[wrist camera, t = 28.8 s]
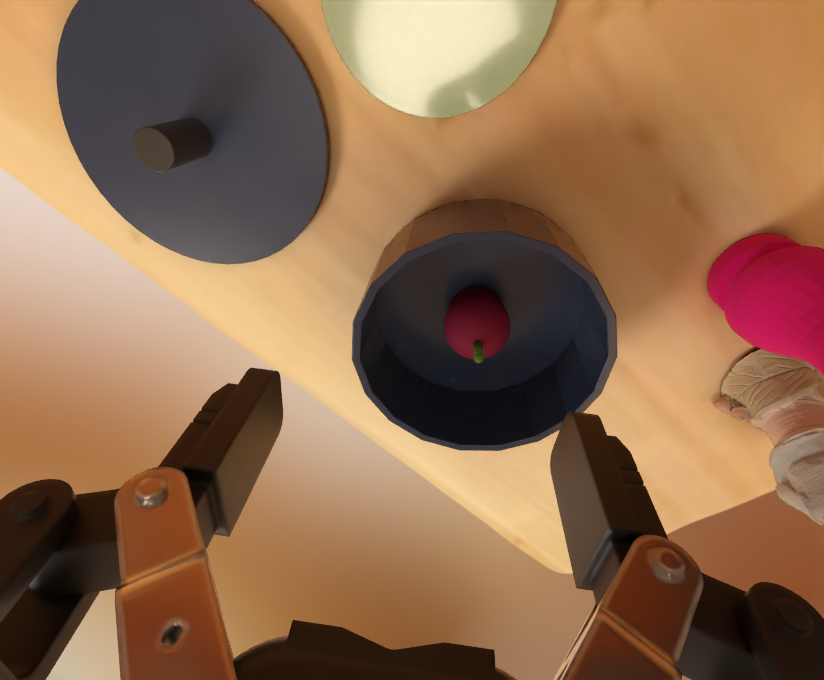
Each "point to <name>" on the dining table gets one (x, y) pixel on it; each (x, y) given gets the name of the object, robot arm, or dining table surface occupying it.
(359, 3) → the plate
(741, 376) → the figurine
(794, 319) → the pepper mill
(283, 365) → the dining table surface
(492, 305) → the beet
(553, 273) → the pan
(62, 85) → the pan lid
